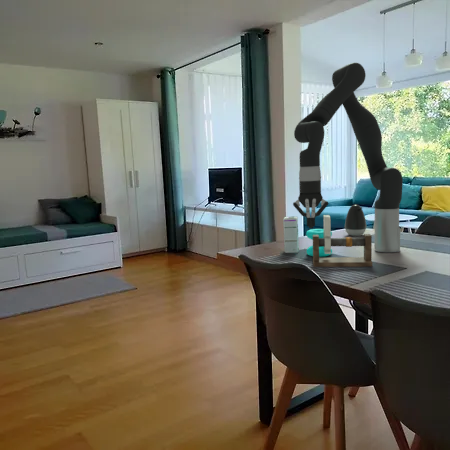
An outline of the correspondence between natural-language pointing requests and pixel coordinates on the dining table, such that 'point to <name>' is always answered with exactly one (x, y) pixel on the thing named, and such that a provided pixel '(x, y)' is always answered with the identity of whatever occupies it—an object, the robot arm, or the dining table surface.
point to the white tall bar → (327, 234)
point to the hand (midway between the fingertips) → (310, 227)
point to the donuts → (310, 236)
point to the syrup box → (291, 234)
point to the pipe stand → (343, 260)
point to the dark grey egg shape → (355, 221)
